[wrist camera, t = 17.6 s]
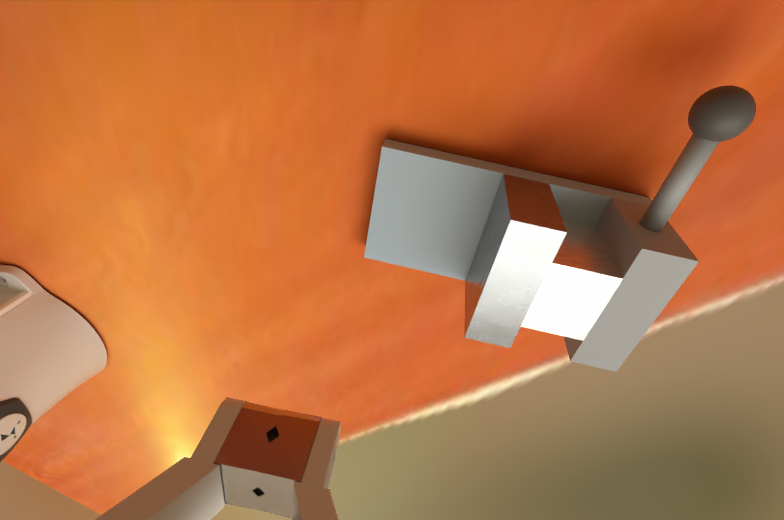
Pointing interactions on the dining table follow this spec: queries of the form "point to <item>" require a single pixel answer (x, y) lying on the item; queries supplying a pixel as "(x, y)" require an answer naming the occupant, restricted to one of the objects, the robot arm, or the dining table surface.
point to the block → (575, 284)
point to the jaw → (511, 259)
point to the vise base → (575, 201)
